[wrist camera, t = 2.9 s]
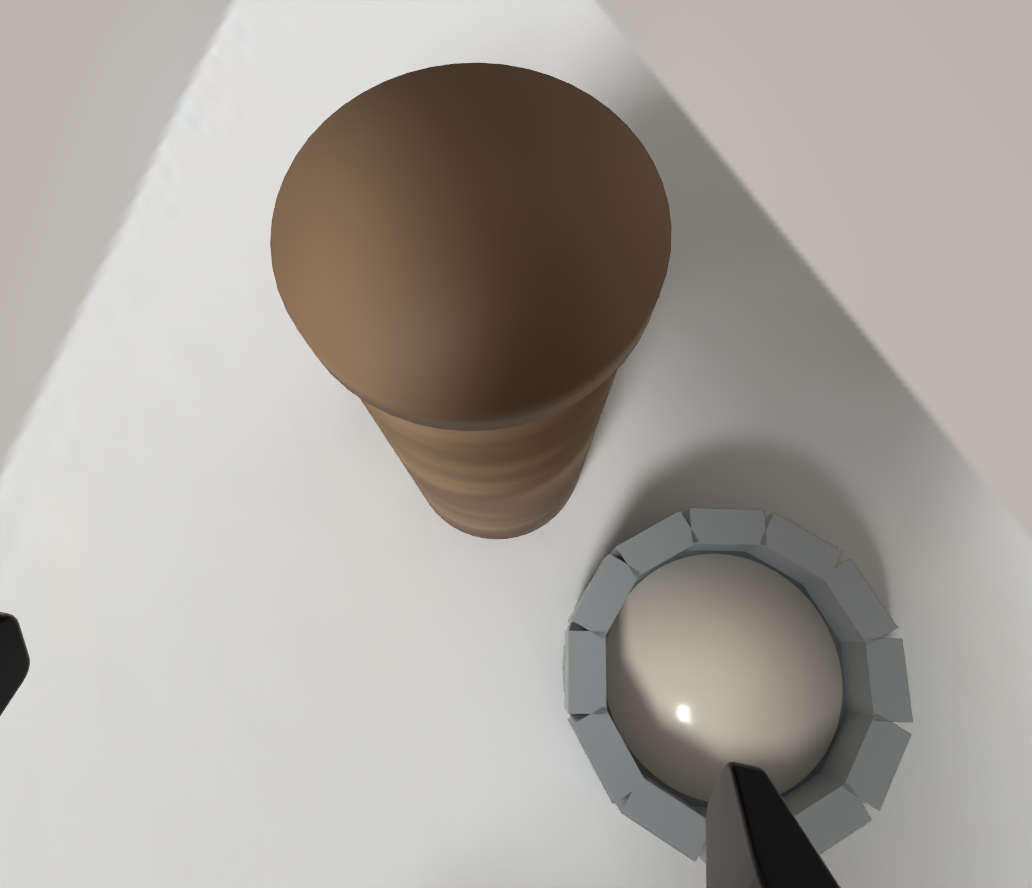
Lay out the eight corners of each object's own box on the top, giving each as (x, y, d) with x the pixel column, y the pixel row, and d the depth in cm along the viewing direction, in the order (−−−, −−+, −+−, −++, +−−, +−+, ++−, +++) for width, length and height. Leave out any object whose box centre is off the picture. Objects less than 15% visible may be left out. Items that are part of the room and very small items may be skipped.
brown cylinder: (460, 578, 21) (375, 489, 9) (380, 423, 23) (209, 157, 10) (618, 491, 22) (750, 295, 10) (532, 347, 24) (547, 10, 11)
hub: (664, 904, 19) (686, 942, 17) (509, 610, 21) (508, 606, 19) (925, 736, 20) (980, 748, 18) (752, 474, 22) (780, 454, 20)
